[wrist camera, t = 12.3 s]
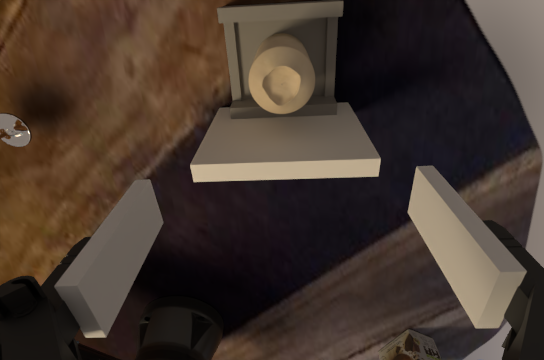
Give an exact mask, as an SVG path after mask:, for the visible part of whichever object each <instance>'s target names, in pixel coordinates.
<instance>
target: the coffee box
mask: <svg viewBox="0 0 544 360" xmlns="http://www.w3.org/2000/svg"><path fill="white" fill-rule="evenodd" d="M378 353H379V357H380V360H442V359H441V357H440V354H439V352H438V350H437V347H436V345H435V342H434V340H433V339H432V338H430V337H428V336H425V335H423V334H420V333H418V332H415V331H413V330H410V329H408V330H406V331H405V332H404V333H402V334H401V335H400V336H398V337H397V338H396V339H394V340H393V341H392V342H390V343H389V344H388V345H386V346H385V347H384V348H382V349H381V350H380V351H378Z"/></svg>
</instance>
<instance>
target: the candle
mask: <svg viewBox="0 0 544 360" xmlns="http://www.w3.org/2000/svg"><path fill="white" fill-rule="evenodd" d="M314 87H315V72H314V69H313V66H312V63H311V61H310V59H309V56H308V54H307V51H306V49H305V47H304V46H303V44H302V43H301V42H300V41H299V40H298V39H297V38H296V37H294V36H292V35H289V34H285V33H279V34H274V35H272V36H270V37H268V38H267V39H265V40H264V41H263V42H262V43H261V45H260V46H259V48H258V50H257V53H256V55H255V58H254V61H253V63H252V66H251V69H250V72H249V89H250V92H251V94H252V96H253V98H254V100H255V101H256V102H257V103H258V104H259V105H260V106H261V107H262V108H263V109H265V110H267V111H269V112H272V113H276V114H287V113H292V112H294V111H296V110H298V109H300V108H301V107H303V106H304V105H305V104H306V103H307V102H308V100H309V99H310V97H311V95H312V93H313V91H314Z"/></svg>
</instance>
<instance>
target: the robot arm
mask: <svg viewBox="0 0 544 360" xmlns="http://www.w3.org/2000/svg"><path fill="white" fill-rule="evenodd" d="M408 214H409V216H410V217H411V219H412V221H413V222H414V224H415V226H416V228H417V229H418V231H419V233H420V234H421V236H422V238H423V240H424V241H425V243H426V245H427V246H428V248H429V250H430V251H431V253H432V255H433V257H434V258H435V260H436V262H437V263H438V265H439V267H440V268H441V270H442V272H443V274H444V275H445V277H446V279H447V280H448V282H449V284H450V285H451V287H452V289H453V291H454V292H455V294H456V296H457V297H458V299H459V301H460V303H461V304H462V306H463V308H464V309H465V311H466V313H467V314H468V316H469V318H470V320H471V321H472V323H473V325H474V326H475V328H476V329H478V328H499V326H500V324H501V322H502V320H503V318H504V317H505V318H506V320H507V321H508V322H509V324H510V325H511V327H512V328H511V330H510V331H509V334H508V335H507V337H506V339H505V341H504V343H503V345H502V347H503V348H505V349H504V353H503V357H502V360H544V268H543V267H542V266H541V265H540V264H539V263H538V262H537V261H536V260H535V259H534V258H533V257H532V256H531V255H530V254H529V253H528V252H527V251H526V250H525V248H522V245H521V244H520V243H519V242H518V241H517V240H515V239H514V237H513V236H512V235H511V234H510V233H509V232H508V231H507V230H506V229H505V228H504V227H502V226H500V225H499V224H497V223H496V222H494V221H492V220H485V221H482V220H481V219H480V218H479V217H478V216H477V215H476V214H475V212H474V211H473V210H472V209H471V208H470V207H469V206H468V205H467V204H466V202H465V201H464V200H463V199H462V198H461V197H460V196H459V195H458V193H457V192H456V191H455V190H454V189H453V188H452V187H451V186H450V184H449V183H448V182H447V181H446V180H445V179H444V178H443V177H442V175H441V174H440V173H439V172H438V171H437V170H436V169H435V168H434V166H417V167H416V172H415V177H414V182H413V187H412V193H411V198H410V203H409V208H408ZM162 225H163V220H162V216H161V213H160V210H159V207H158V203H157V200H156V197H155V194H154V191H153V187H152V184H151V181H150V180H135V181H134V182H133V184H132V185H131V186H130V188H129V189H128V190H127V192H126V193H125V194H124V196H123V197H122V198H121V199H120V201H119V202H118V203H117V205H116V206H115V207H114V209H113V210H112V211H111V213H110V214H109V215H108V216H107V218H106V219H105V220H104V222H103V223H102V224H101V226H100V227H99V228H98V230H97V231H96V232H95V233H94V235H93V236H92V237H85V238H83V239H82V240H81V241H79V242H78V243H77V244H75V245H74V246H73V247H72V249H71V250H70V251H69V252H68V253H67V255H66V257H64V258H63V260H62V261H61V262H60V265H58V266H57V267H56V268H55V270H54V271H53V272H52V273H51V274H50V276H49V277H48V278H47V279H46V281H45V282H44V283H43V284H42V286H41V287H40V285H39V284H38V282H37V281H36V279H35V278H34V277H32V276H20V277H17V278H14V279H12V280H10V281H8V282H6V283H4V284H2V285H1V286H0V360H120V359H117V358H115V357H112V356H110V355H107V354H105V353H102V352H100V351H97V350H95V349H92V348H90V347H87V346H85V345H82V344H80V343H79V342H78V341H76V340H75V339H74V337H75V335H76V333H77V332H78V330H79V328H80V329H81V331H82V332H83V334H84V335H85V337H86V338H93V337H106V336H107V334H108V332H109V330H110V328H111V326H112V324H113V322H114V320H115V318H116V316H117V314H118V312H119V310H120V308H121V306H122V304H123V302H124V300H125V298H126V296H127V294H128V292H129V290H130V288H131V286H132V284H133V282H134V280H135V278H136V276H137V274H138V272H139V270H140V268H141V266H142V265H143V263H144V261H145V259H146V257H147V255H148V253H149V251H150V249H151V247H152V245H153V243H154V241H155V239H156V237H157V235H158V233H159V231H160V229H161V227H162ZM223 329H224V322H223V319H222V317H221V315H220V314H219V313H218V311H217V310H215V309H214V308H213V307H212V306H210V305H209V304H207V303H205V302H203V301H200V300H198V299H194V298H190V297H185V296H167V297H162V298H159V299H156V300H154V301H152V302H151V303H150V304H148V305H147V306H146V308H145V309H144V312H143V314H142V316H141V319H140V322H139V328H138V342H137V355H136V359H135V360H211V359H212V357H213V355H214V353H215V352H216V350H217V348H218V346H219V344H220V342H221V339H222V335H223Z"/></svg>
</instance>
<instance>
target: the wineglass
mask: <svg viewBox="0 0 544 360" xmlns="http://www.w3.org/2000/svg"><path fill="white" fill-rule="evenodd" d="M0 139H1V140H3V141H4V142H6V143H7V144H9V145H12V146H16V147H22V146H25V145H27V144H28V143H29V142H30V140H31V134H30V131H29V129H28V127H27V126H26V124H25V123H24V122H23V121H22V120H20V119H19V118H17V117H15V116H13V115H11V114H6V113H2V114H0Z"/></svg>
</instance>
